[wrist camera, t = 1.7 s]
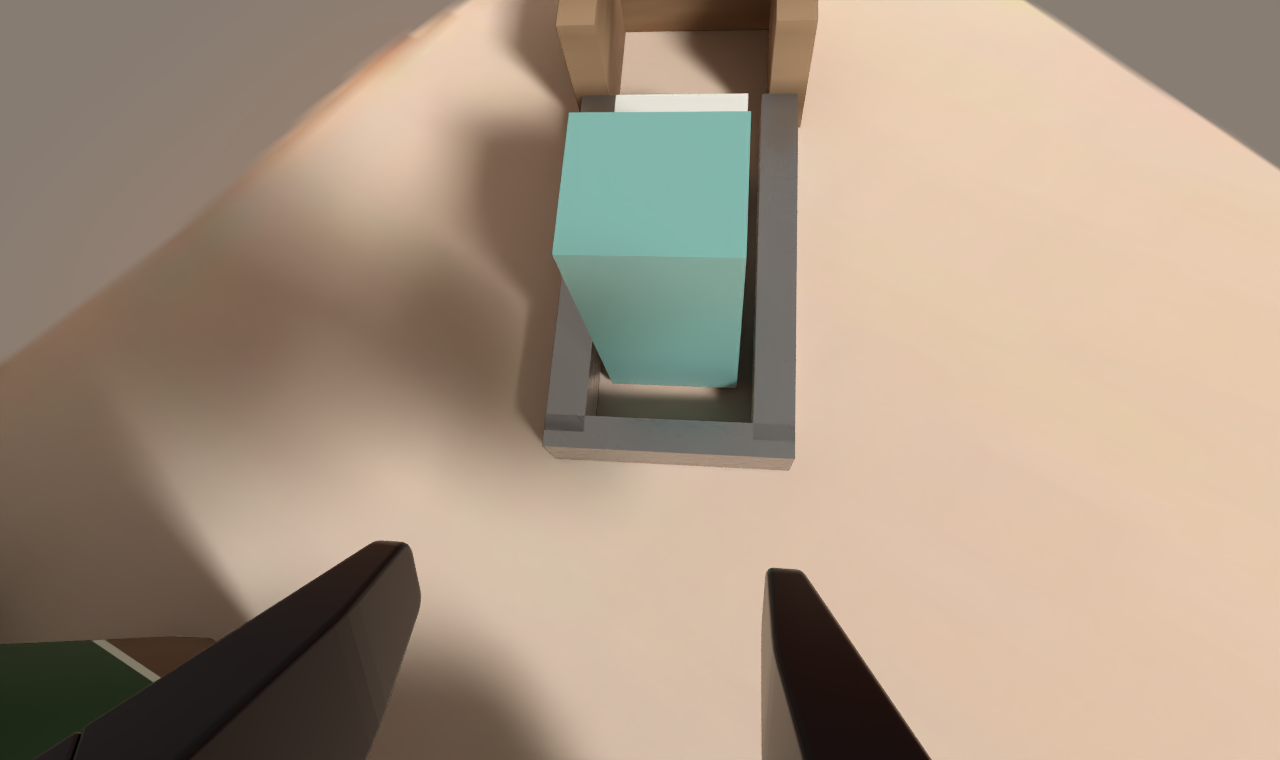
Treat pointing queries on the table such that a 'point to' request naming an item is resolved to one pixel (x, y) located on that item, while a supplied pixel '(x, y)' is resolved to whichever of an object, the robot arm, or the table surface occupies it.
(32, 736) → the beer bottle
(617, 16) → the socket
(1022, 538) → the table surface
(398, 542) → the robot arm
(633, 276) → the teal block
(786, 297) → the rails
